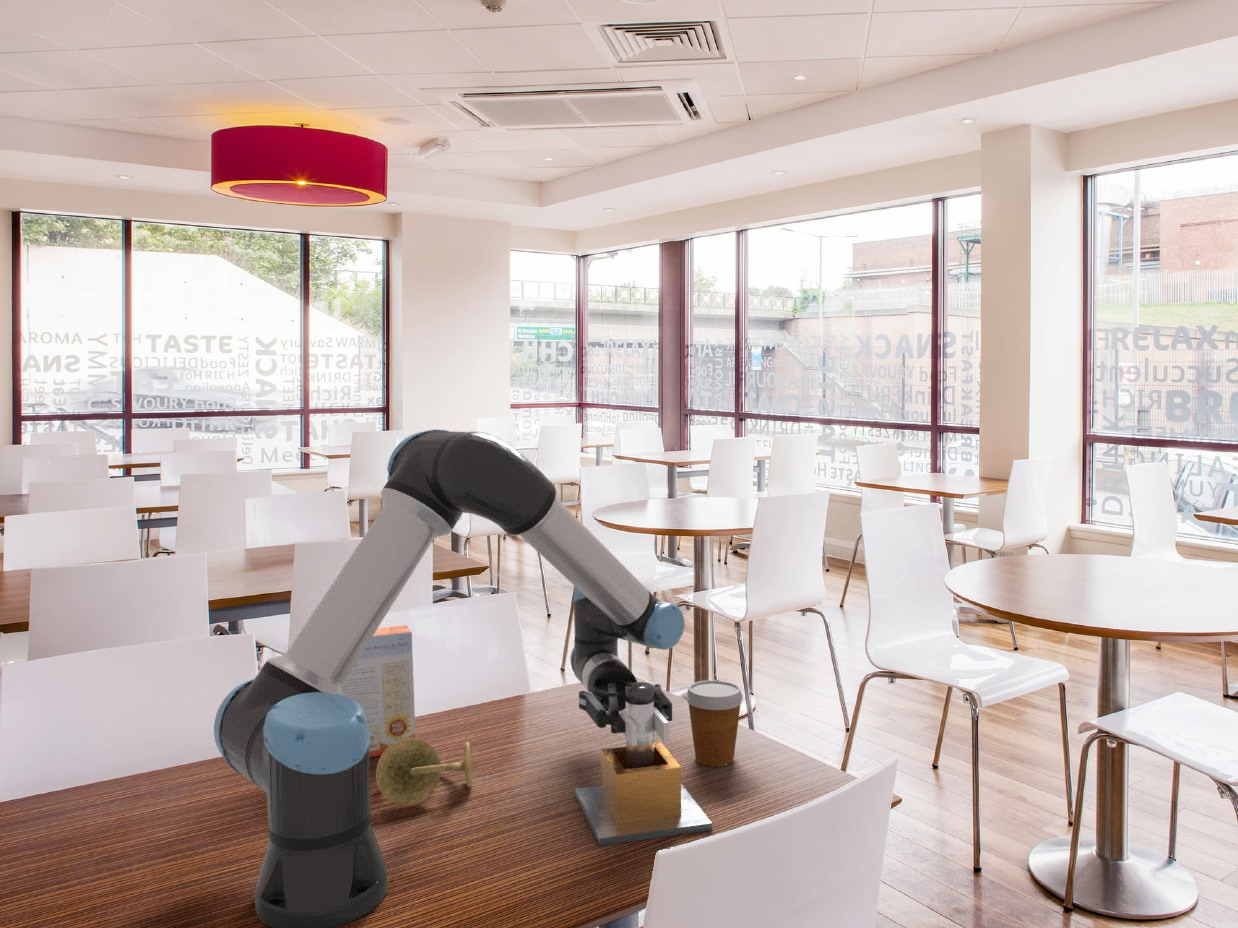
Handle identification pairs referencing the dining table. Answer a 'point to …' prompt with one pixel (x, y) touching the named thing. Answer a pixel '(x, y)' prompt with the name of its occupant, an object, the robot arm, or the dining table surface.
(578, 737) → the dining table surface
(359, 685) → the cracker box
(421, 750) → the wall sconce
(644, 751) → the capped glass tube
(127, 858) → the dining table surface
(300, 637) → the robot arm
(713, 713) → the disposable coffee cup
